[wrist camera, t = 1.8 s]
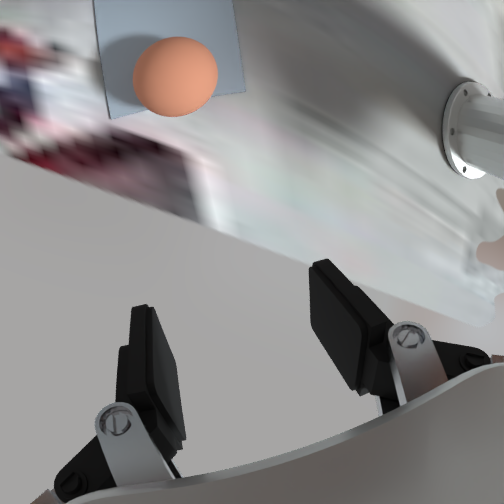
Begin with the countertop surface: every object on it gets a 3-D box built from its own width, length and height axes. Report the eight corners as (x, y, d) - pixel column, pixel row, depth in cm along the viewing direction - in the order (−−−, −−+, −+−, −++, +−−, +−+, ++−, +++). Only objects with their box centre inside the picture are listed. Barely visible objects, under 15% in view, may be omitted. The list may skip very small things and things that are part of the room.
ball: (206, 39, 21) (217, 21, 16) (216, 107, 24) (231, 108, 19) (131, 53, 20) (121, 39, 15) (143, 123, 23) (136, 128, 18)
